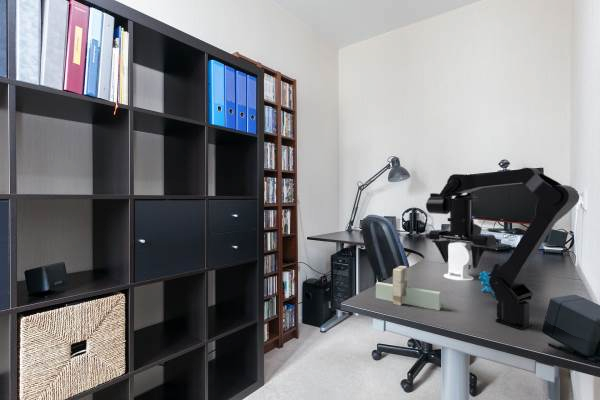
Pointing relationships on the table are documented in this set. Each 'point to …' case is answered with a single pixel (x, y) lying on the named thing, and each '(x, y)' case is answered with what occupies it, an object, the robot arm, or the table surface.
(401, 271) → the ash notched plate
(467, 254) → the white bracket stand
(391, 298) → the sage slotted plate
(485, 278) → the blue lumpy piece
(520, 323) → the robot arm
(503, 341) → the table surface
